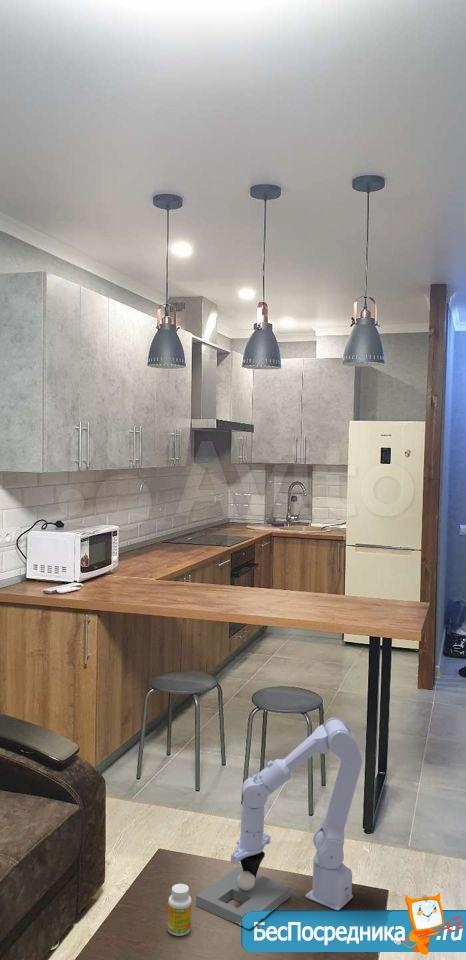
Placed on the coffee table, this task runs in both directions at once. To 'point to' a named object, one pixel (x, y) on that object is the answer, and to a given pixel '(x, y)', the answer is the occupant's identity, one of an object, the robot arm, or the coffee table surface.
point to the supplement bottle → (179, 910)
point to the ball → (246, 880)
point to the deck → (242, 896)
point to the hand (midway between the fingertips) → (249, 881)
